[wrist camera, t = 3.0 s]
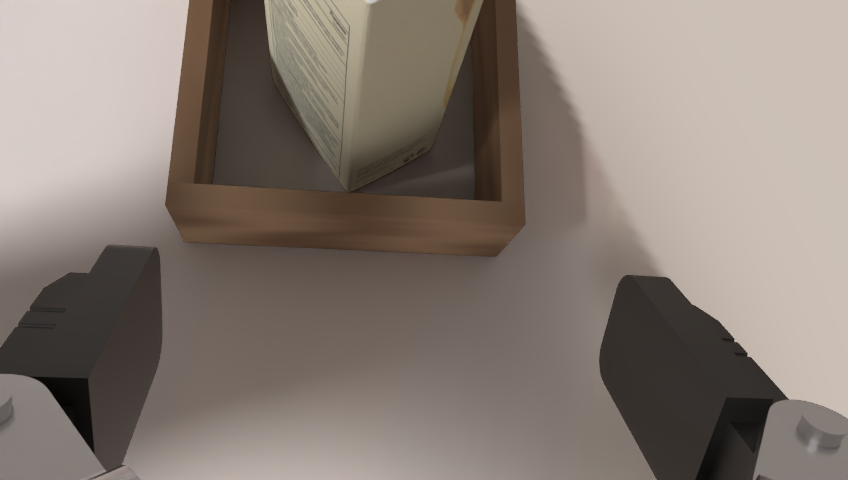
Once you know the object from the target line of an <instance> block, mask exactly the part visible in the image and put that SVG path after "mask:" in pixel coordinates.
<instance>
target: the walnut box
mask: <svg viewBox="0 0 848 480" xmlns="http://www.w3.org/2000/svg"><path fill="white" fill-rule="evenodd" d="M229 10H230V0H189V8H188V17H187V25H186V34H185V42H184V51H183V59H182V68H181V76H180V85H179V93H178V102H177V110H176V118H175V127H174V135H173V144H172V152H171V161H170V169H169V178H168V186H167V195H166V203H165V205H166V207H167V209H168V211H169V213H170V215H171V217H172V219H173V221H174V223H175V224H176V226H177V228H178V230H179V232H180V234H181V236H182V238H183V240H184V242H197V243H218V244H240V245H261V246H282V247H304V248H325V249H346V250H368V251H389V252H410V253H432V254H453V255H474V256H497V255H498V254H499V253H500V252H501V251H502V250H503V248H504V247H505V246H506V245H507V244H508V243H509V242H510V241H511V240H512V239H513V238H514V236H515V235H516V234H517V233H518V232H519V231H520V230H521V229H522V228H523V227H524V226H525V205H524V182H523V160H522V137H521V115H520V92H519V69H518V47H517V24H516V2H515V0H484V1H483V3H482V6H481V9H480V12H479V15H478V18H477V21H476V24H475V26H474V29H473V32H472V70H473V116H474V161H475V200H465V199H448V198H431V197H414V196H397V195H380V194H363V193H346V192H329V191H312V190H295V189H278V188H261V187H244V186H227V185H212V184H213V174H214V163H215V153H216V143H217V133H218V122H219V112H220V102H221V92H222V81H223V71H224V61H225V51H226V40H227V30H228V20H229Z"/></svg>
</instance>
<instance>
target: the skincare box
mask: <svg viewBox="0 0 848 480" xmlns="http://www.w3.org/2000/svg"><path fill="white" fill-rule="evenodd" d="M483 1H484V0H264V4H265V13H266V22H267V31H268V41H269V50H270V59H271V69H272V77H273V81H274V83H275V84H276V86H277V88H278V89H279V91H280V93H281V94H282V96H283V98H284V99H285V101H286V102H287V104H288V106H289V107H290V109H291V110H292V112H293V114H294V115H295V117H296V118H297V120H298V121H299V123H300V125H301V126H302V128H303V129H304V131H305V132H306V134H307V135H308V137H309V138H310V140H311V141H312V143H313V144H314V146H315V147H316V149H317V150H318V152H319V153H320V155H321V156H322V158H323V159H324V161H325V162H326V164H327V165H328V166H329V168H330V169H331V171H332V172H333V174H334V175H335V176H336V178H337V179H338V181H339V182H340V183H341V185H342V186H343V188H344V189H345V190H346V191H347V192H352V191H354V190H356V189H358V188H360V187H362V186H364V185H366V184H368V183H370V182H372V181H374V180H376V179H378V178H380V177H382V176H384V175H386V174H388V173H390V172H392V171H394V170H395V169H397V168H399V167H401V166H403V165H405V164H406V163H408V162H410V161H412V160H413V159H415V158H417V157H418V156H420V155H422V154H424V153H425V152H427V151H429V150H430V149H431V148H432V147H433V145H434V142H435V139H436V136H437V134H438V131H439V128H440V125H441V122H442V119H443V117H444V114H445V111H446V108H447V104H448V101H449V99H450V95H451V93H452V90H453V87H454V84H455V82H456V79H457V76H458V73H459V70H460V67H461V64H462V62H463V59H464V55H465V53H466V50H467V47H468V44H469V41H470V39H471V35H472V32H473V29H474V26H475V24H476V21H477V18H478V15H479V12H480V9H481V6H482V3H483Z"/></svg>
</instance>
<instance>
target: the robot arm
mask: <svg viewBox="0 0 848 480" xmlns="http://www.w3.org/2000/svg"><path fill="white" fill-rule="evenodd" d="M18 324H19V325H18V327H15V329H14V330H13V331H12V333H11V334H10V336H9V337H8V338H7V340H6V341H5V342H4V344H3V345H2V347H1V348H0V480H140V479H139V478H138V476H137V475H136V474H135V473H134V471H133V470H132V469H130V468H129V467H128V466H126V465H122V462H123V459H124V457H125V454H126V451H127V448H128V446H129V443H130V440H131V438H132V435H133V432H134V429H135V427H136V424H137V421H138V419H139V416H140V413H141V410H142V408H143V405H144V402H145V400H146V397H147V394H148V392H149V389H150V386H151V383H152V381H153V378H154V375H155V373H156V370H157V367H158V363H159V359H160V353H161V346H162V303H161V273H160V256H159V251H158V249H157V248H156V247H140V246H123V245H107V246H106V248H105V249H104V251H103V252H102V254H101V255H100V257H99V258H98V260H97V262H96V263H95V265H94V266H93V268H92V269H91V271H90V273H89V274H88V273H68V274H67V275H65V276H63V277H62V278H60V279H58V280H57V281H55V282H53V283H52V284H50V285H48V286H47V287H45V288H44V289H43V290H42V292H41V293H40V294H39V296H38V297H37V298H36V300H35V301H34V303H33V304H32V305H31V307H30V311H27V312H26V314H25V315H24V316H23V318H22V319H21V320H20V322H19V323H18ZM599 364H600V373H601V377H602V380H603V382H604V384H605V386H606V388H607V390H608V392H609V393H610V395H611V397H612V399H613V401H614V402H615V404H616V406H617V408H618V410H619V411H620V413H621V415H622V417H623V419H624V421H625V422H626V424H627V426H628V428H629V430H630V431H631V433H632V435H633V437H634V439H635V441H636V442H637V444H638V446H639V448H640V450H641V451H642V453H643V455H644V457H645V459H646V461H647V462H648V464H649V466H650V468H651V470H652V471H653V473H654V475H655V477H656V479H657V480H848V419H847V418H846V417H844V416H842V415H841V414H839V413H837V412H835V411H833V410H830V409H828V408H826V407H823V406H820V405H817V404H814V403H811V402H806V401H801V400H789V399H788V398H787V397H786V396H785V395H784V394H783V392H782V391H781V390H780V389H779V388H778V387H777V386H776V385H775V384H774V382H773V381H772V380H771V379H770V378H769V377H768V376H767V375H766V374H765V372H764V371H763V370H762V369H761V368H760V367H759V366H758V365H757V363H756V362H755V361H754V360H753V359H752V358H751V357H747V352H746V351H745V350H744V349H743V348H742V347H741V346H740V345H739V344H738V343H737V342H734V338H733V337H732V336H731V335H730V333H728V331H727V330H726V329H725V328H724V327H723V326H722V324H721V323H720V322H719V321H718V320H716V319H714V318H713V317H711V316H710V315H708V314H707V313H705V312H704V311H702V310H701V309H699V308H698V307H696V306H694V305H692V304H691V303H690V302H689V301H688V299H687V298H685V296H684V295H683V294H682V293H681V292H680V290H679V289H678V288H677V287H676V286H675V284H674V283H673V282H672V281H671V280H670V279H669V278H667V277H653V276H636V275H626V276H624V277H623V278H622V279H621V281H620V282H619V284H618V287H617V290H616V294H615V297H614V301H613V305H612V308H611V312H610V316H609V319H608V323H607V326H606V330H605V334H604V337H603V341H602V345H601V349H600V357H599Z"/></svg>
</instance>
